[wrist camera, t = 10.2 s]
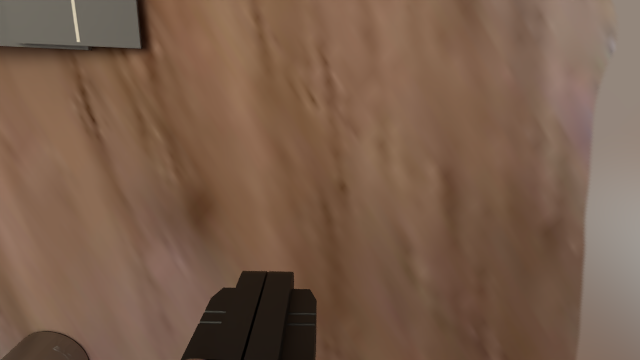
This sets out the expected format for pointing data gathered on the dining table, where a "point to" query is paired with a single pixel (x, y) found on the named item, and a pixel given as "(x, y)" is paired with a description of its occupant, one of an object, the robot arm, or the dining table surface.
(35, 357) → the robot arm
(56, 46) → the domino
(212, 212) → the dining table surface
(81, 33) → the domino
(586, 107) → the dining table surface
